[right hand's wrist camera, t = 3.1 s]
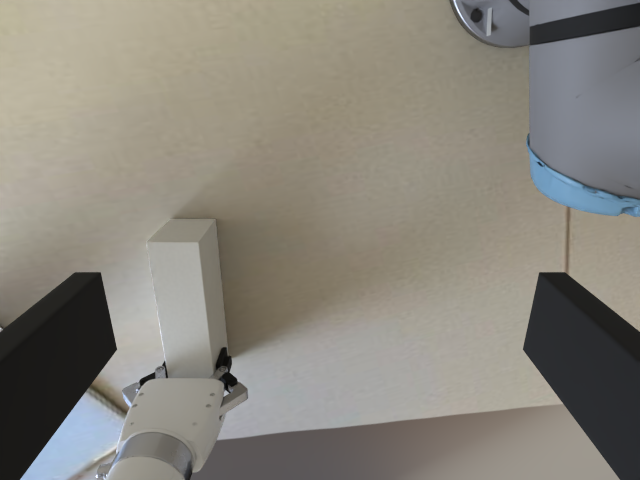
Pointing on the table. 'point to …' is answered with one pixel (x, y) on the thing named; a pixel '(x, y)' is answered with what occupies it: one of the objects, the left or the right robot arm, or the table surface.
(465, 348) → the table surface
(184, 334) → the bar
